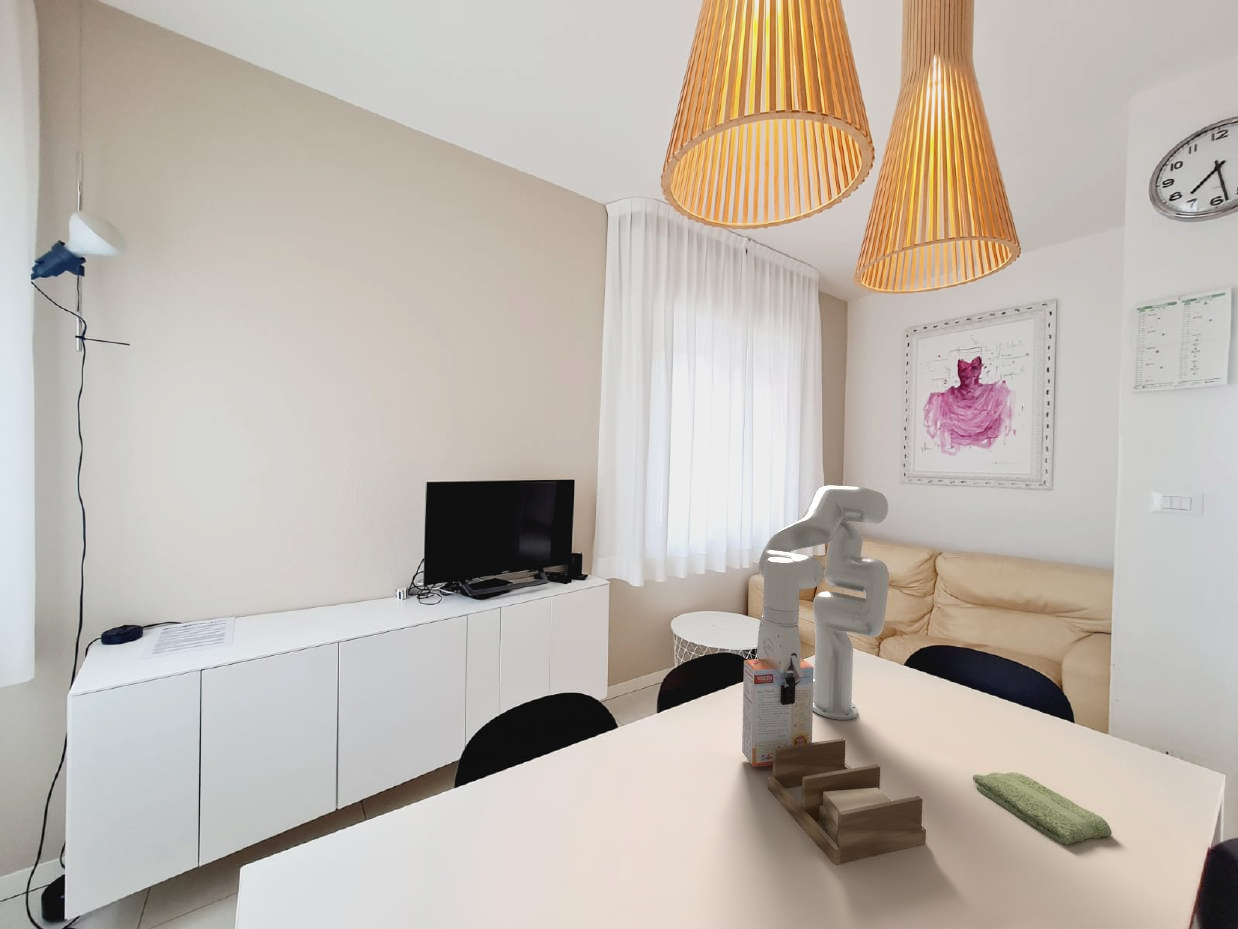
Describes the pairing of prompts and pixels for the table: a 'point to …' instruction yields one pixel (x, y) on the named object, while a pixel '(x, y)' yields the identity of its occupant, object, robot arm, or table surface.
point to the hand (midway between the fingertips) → (777, 695)
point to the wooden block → (846, 805)
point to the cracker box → (774, 712)
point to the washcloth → (1042, 807)
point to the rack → (857, 827)
